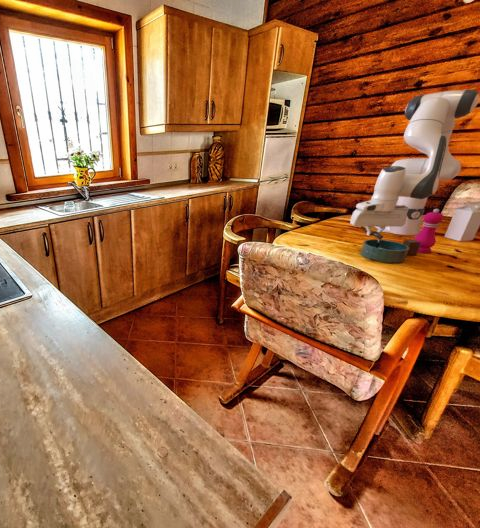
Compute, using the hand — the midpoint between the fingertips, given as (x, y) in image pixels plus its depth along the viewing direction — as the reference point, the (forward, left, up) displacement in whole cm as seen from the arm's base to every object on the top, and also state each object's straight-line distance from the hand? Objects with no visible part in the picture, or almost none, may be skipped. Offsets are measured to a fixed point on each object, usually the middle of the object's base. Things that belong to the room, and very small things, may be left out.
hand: (372, 235), depth 128 cm
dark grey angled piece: (-1, 0, -6) cm, 6 cm away
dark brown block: (+1, +16, -9) cm, 18 cm away
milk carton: (-23, +53, -9) cm, 58 cm away
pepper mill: (-4, +24, -9) cm, 26 cm away
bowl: (+5, +3, -9) cm, 11 cm away
